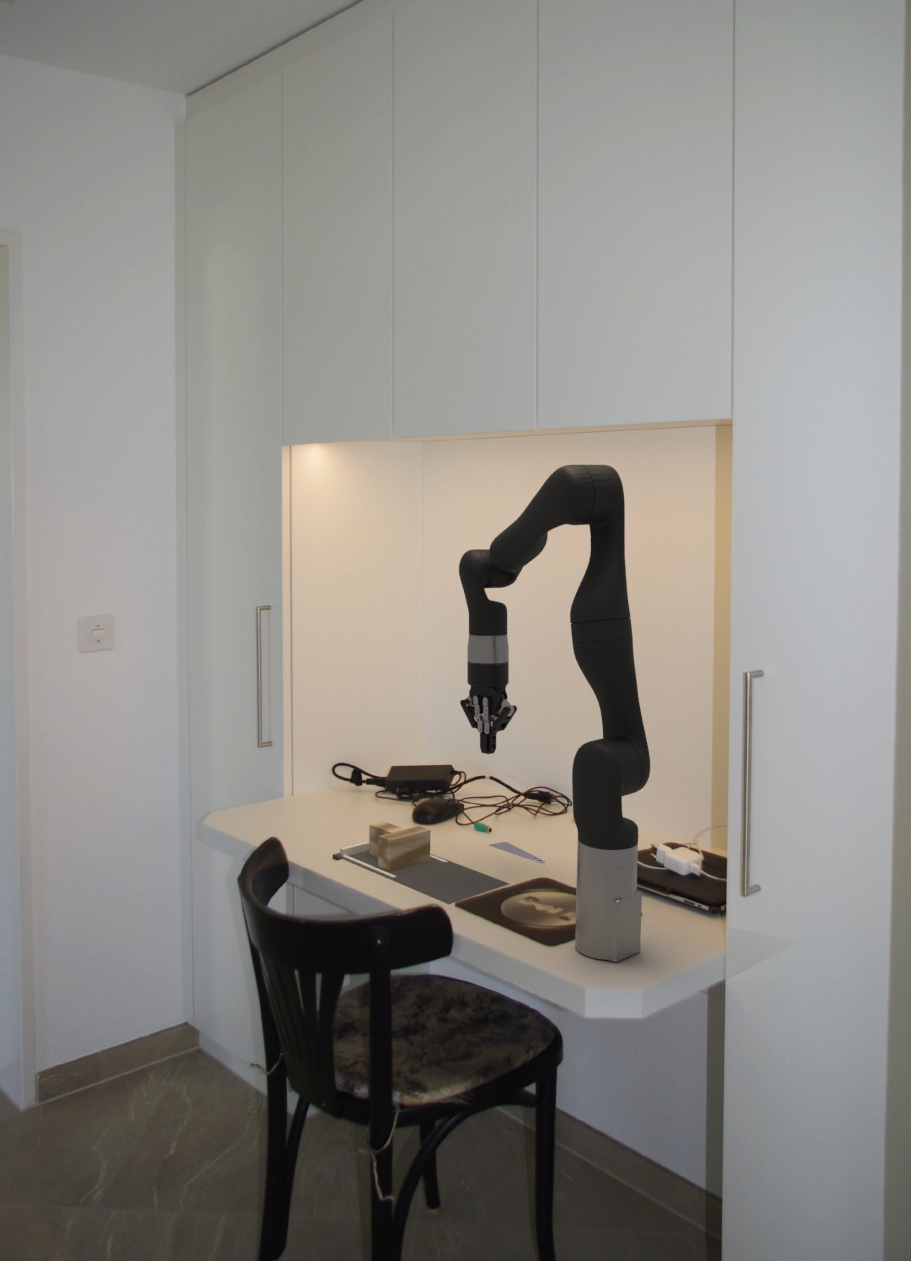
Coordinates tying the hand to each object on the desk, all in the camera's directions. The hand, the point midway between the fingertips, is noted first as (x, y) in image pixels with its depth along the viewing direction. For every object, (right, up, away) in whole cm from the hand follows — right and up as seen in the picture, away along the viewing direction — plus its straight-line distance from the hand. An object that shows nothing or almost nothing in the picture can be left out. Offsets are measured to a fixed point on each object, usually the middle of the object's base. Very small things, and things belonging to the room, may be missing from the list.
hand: (487, 752), depth 182 cm
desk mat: (-13, -23, +6) cm, 27 cm away
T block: (-18, -22, +11) cm, 30 cm away
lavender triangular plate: (+5, -23, +16) cm, 28 cm away
